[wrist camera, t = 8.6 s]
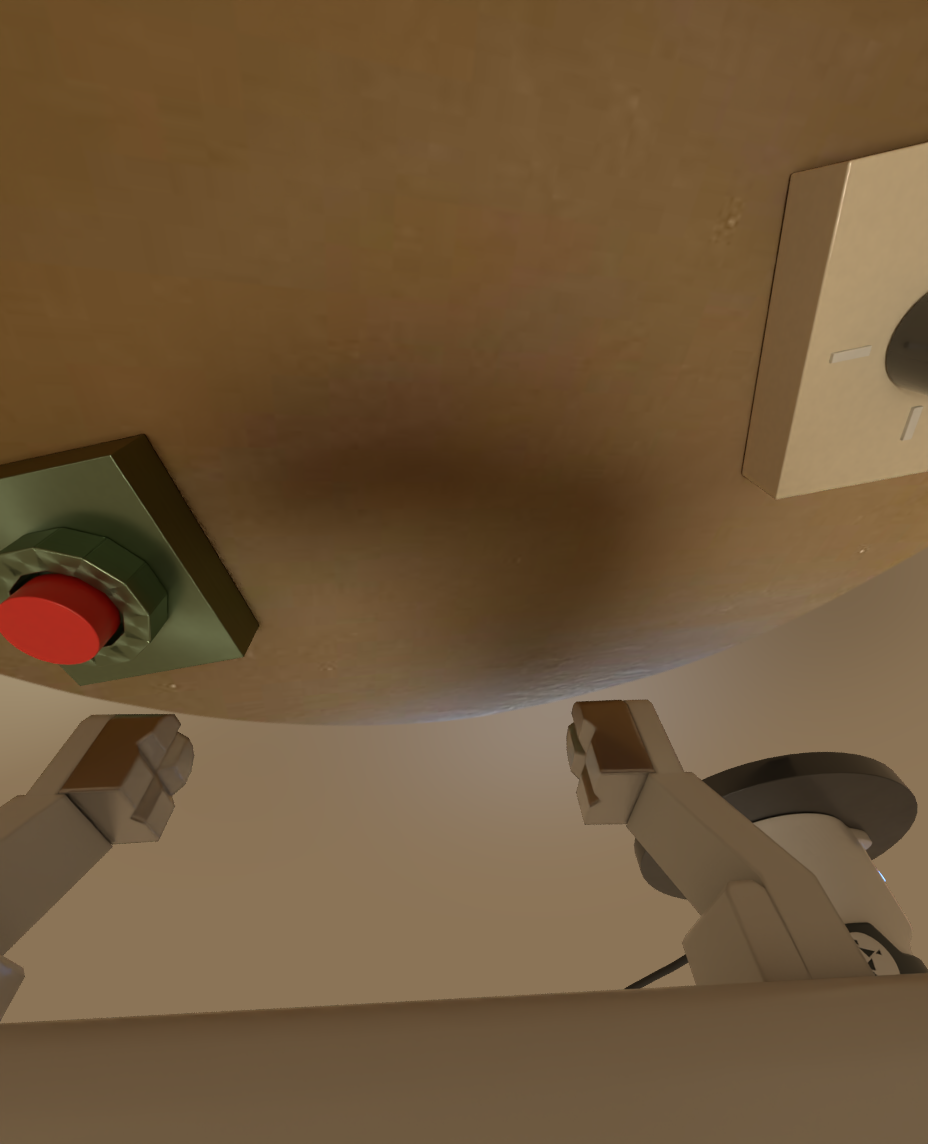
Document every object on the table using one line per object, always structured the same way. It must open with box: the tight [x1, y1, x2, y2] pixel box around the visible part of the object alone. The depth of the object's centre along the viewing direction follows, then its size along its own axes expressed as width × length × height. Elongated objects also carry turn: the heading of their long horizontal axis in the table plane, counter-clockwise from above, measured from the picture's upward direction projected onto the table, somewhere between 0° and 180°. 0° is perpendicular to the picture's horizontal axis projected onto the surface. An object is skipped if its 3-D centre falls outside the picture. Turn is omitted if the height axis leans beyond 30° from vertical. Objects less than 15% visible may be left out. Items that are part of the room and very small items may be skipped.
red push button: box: [0, 574, 120, 665], centre depth 21 cm, size 4×4×2 cm
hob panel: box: [742, 141, 928, 499], centre depth 19 cm, size 12×10×3 cm
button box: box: [0, 434, 259, 686], centre depth 23 cm, size 12×10×4 cm
